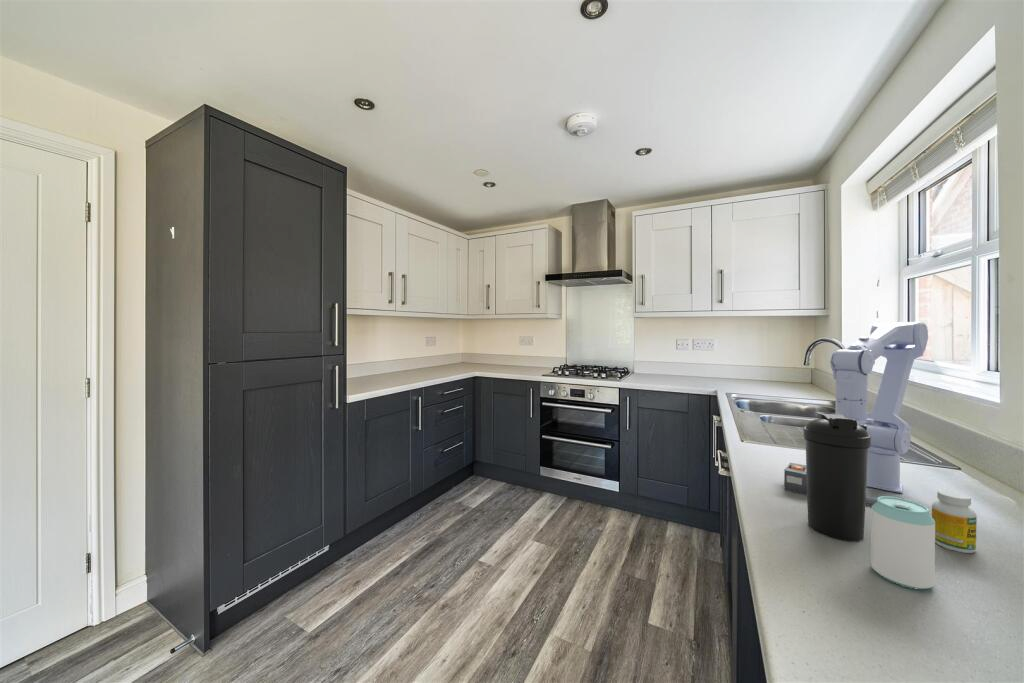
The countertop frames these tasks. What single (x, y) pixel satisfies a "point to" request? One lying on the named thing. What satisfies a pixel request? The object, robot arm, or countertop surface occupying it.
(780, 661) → the countertop surface
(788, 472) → the cabinet
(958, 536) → the supplement bottle
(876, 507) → the can
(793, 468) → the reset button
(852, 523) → the water bottle
